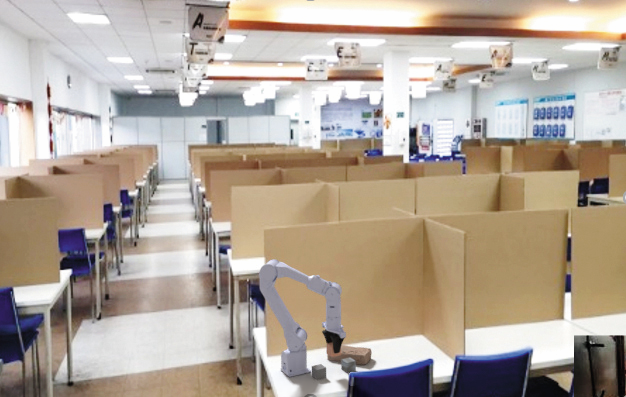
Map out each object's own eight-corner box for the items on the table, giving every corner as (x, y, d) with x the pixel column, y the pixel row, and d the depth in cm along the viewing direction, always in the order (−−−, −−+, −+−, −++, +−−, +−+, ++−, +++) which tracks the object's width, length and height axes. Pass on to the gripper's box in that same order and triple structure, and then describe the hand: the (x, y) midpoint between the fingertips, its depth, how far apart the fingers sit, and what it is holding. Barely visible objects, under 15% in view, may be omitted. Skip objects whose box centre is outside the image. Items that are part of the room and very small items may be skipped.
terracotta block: (331, 357, 209) (331, 346, 209) (326, 353, 213) (326, 343, 212) (341, 355, 211) (341, 344, 211) (335, 351, 214) (335, 341, 214)
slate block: (346, 373, 213) (346, 363, 212) (341, 369, 216) (341, 359, 216) (355, 371, 215) (355, 360, 214) (350, 367, 218) (350, 357, 218)
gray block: (316, 380, 207) (316, 369, 206) (311, 376, 210) (311, 366, 210) (326, 378, 209) (326, 367, 208) (321, 374, 212) (320, 364, 212)
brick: (326, 360, 226) (326, 349, 225) (333, 353, 233) (333, 342, 233) (365, 366, 219) (366, 355, 219) (372, 359, 227) (372, 347, 227)
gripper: (352, 319, 206) (353, 355, 207) (333, 309, 218) (333, 342, 220) (336, 322, 202) (336, 358, 204) (317, 311, 215) (317, 346, 217)
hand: (333, 350), depth 212 cm, fingers closed on terracotta block, 4 cm apart
